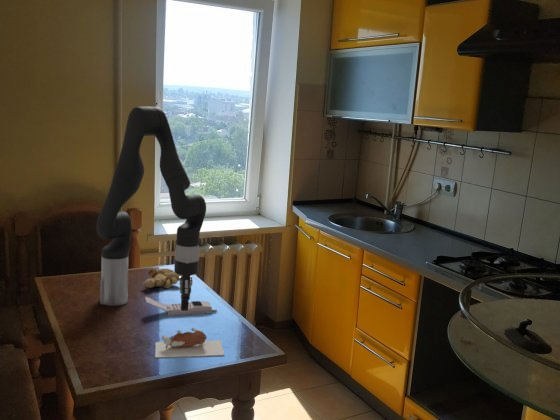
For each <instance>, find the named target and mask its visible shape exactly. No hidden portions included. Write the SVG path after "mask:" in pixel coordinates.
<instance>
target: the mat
mask: <svg viewBox="0 0 560 420" xmlns="http://www.w3.org/2000/svg"><path fill="white" fill-rule="evenodd" d="M154 351H155V354H154V356H155V357H154V358H155V359H168V358H191V357H192V358H198V357H223V356H224V357H225V352H224V348H223V343H222V340H221V339H219V340H205V342H204V343H202V344H198V345H193V346H189V347H172V346H170V345H169V346H168V347H167V349H166V344H164V341H156V342H155V350H154Z"/></svg>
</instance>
